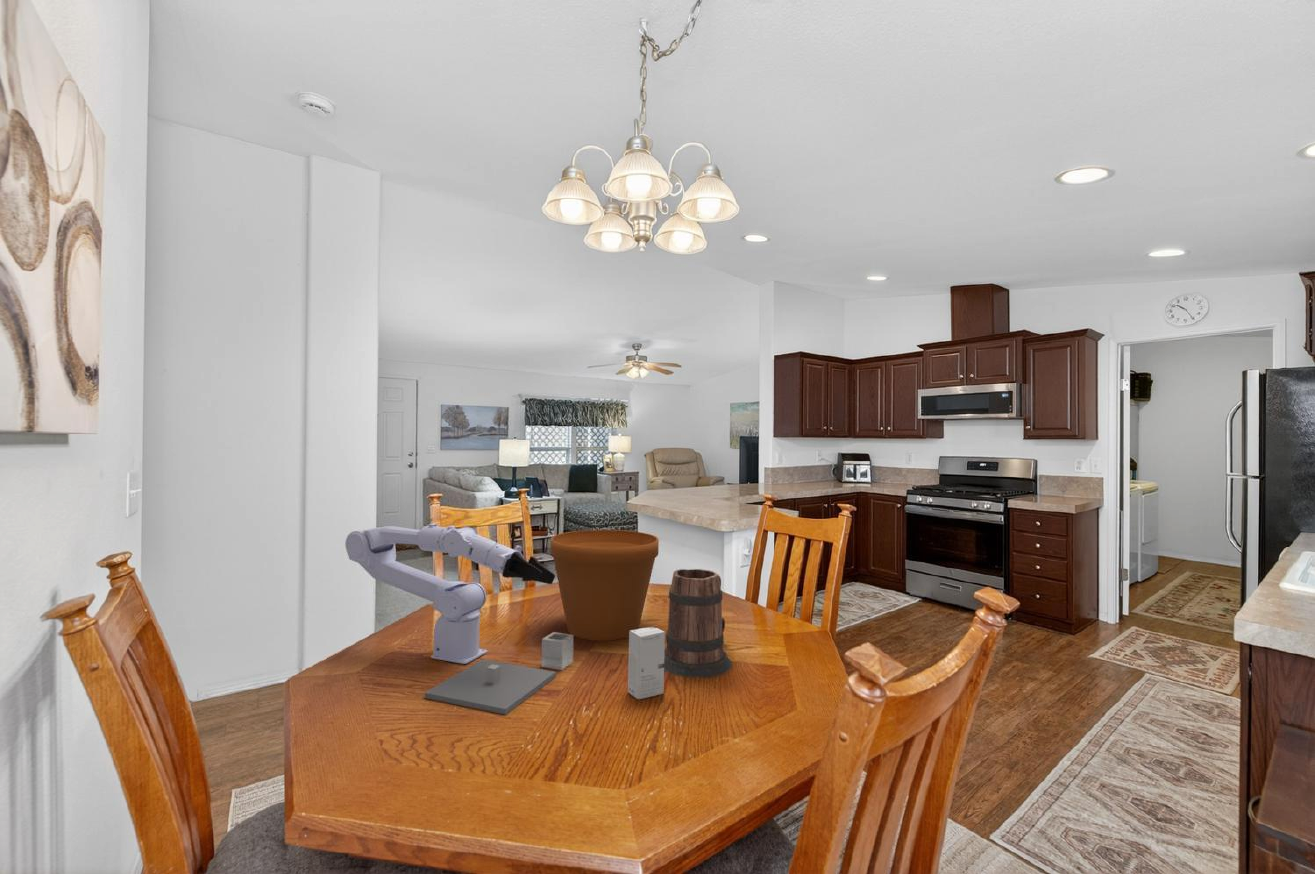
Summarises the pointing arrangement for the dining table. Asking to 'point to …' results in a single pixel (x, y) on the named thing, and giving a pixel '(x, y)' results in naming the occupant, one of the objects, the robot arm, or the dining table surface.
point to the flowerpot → (603, 580)
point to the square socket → (557, 650)
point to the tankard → (695, 626)
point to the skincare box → (646, 662)
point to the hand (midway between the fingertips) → (546, 578)
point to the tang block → (491, 686)
